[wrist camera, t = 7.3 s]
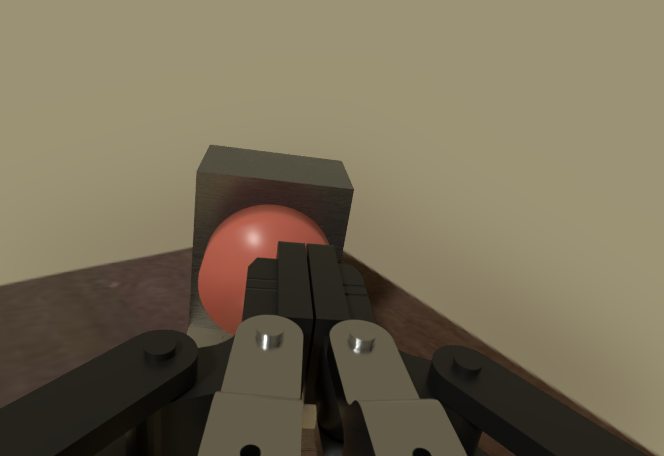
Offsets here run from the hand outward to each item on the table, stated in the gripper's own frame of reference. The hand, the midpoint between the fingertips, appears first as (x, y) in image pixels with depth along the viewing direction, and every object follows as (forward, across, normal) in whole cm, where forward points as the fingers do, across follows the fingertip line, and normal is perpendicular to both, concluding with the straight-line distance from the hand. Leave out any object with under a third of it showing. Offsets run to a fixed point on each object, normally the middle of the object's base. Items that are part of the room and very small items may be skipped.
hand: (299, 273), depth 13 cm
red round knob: (+15, +1, +10) cm, 18 cm away
